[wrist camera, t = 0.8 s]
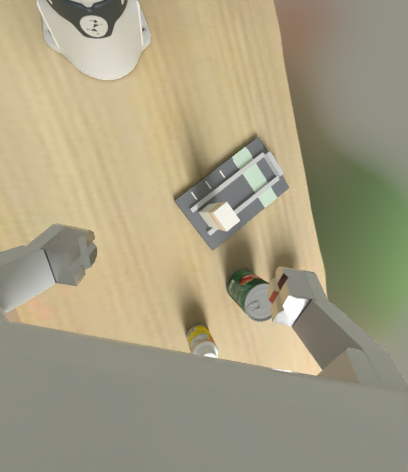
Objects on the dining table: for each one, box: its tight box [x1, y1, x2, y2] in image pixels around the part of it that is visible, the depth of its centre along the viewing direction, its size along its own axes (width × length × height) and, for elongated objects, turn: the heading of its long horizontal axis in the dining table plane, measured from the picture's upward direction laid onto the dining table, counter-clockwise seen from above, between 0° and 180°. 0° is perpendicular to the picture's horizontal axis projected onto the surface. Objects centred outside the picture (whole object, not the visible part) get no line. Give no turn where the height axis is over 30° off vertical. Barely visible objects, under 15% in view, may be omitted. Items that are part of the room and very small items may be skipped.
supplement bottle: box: [187, 324, 218, 358], centre depth 47 cm, size 6×6×10 cm
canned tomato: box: [226, 269, 272, 322], centre depth 48 cm, size 8×8×11 cm
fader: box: [198, 202, 240, 231], centre depth 42 cm, size 4×3×12 cm
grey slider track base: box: [175, 137, 289, 250], centre depth 49 cm, size 14×24×3 cm, turn 127°
